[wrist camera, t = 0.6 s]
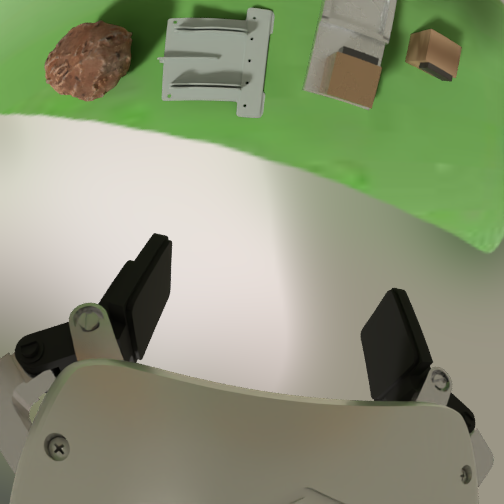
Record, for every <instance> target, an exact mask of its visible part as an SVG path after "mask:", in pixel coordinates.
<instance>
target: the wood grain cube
mask: <svg viewBox="0 0 504 504" xmlns="http://www.w3.org/2000/svg"><path fill="white" fill-rule="evenodd" d="M461 48H462V47H460V46H459V45H457V44H456V43H454V42H453V41H451V40H450V39H448V38H446V37H445V36H443V35H441V34H440V33H438V32H436V31H434V30H433V29H428V30H424V31H421V32H417V33H413V34H411V36H410V41H409V46H408V51H407V55H406V60H405V62H406V63H408V64H411V65H413V66H415V67H417V68H419V69H421V70H423V71H424V72H426V73H428V74H430V75H432V76H435V77H437V78H438V79H440V80H442V81H452V77H453V78H456V75H457V70H458V65H459V59H460V54H461Z"/></svg>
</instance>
